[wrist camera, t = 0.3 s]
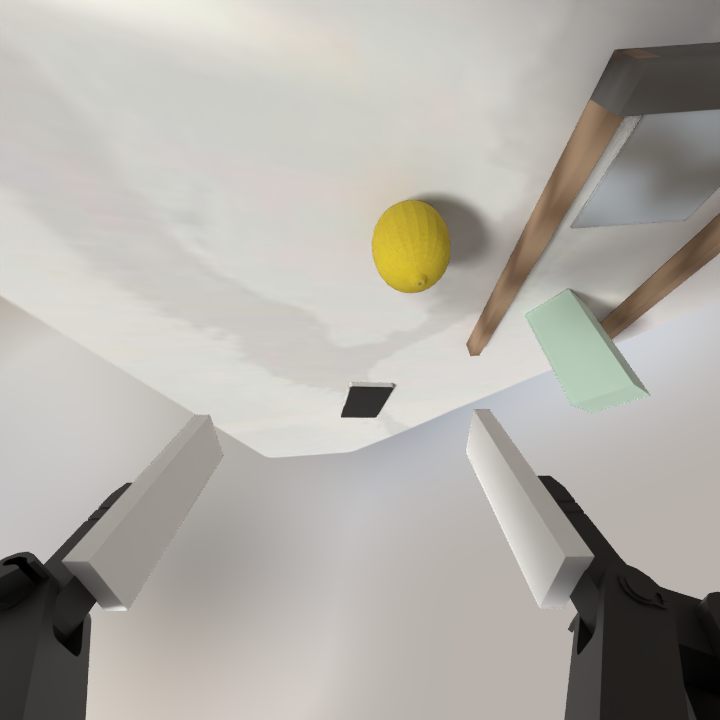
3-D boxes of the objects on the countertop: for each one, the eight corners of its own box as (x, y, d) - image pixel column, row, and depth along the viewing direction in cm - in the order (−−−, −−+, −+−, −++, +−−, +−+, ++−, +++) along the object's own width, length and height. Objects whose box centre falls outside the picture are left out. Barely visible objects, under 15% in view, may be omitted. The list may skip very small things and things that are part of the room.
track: (614, 50, 15) (649, 63, 13) (945, 26, 15) (1021, 36, 13) (466, 344, 38) (472, 362, 36) (595, 334, 38) (607, 352, 36)
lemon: (445, 225, 23) (472, 292, 18) (387, 257, 25) (398, 323, 21) (421, 162, 19) (449, 228, 14) (355, 207, 21) (361, 275, 17)
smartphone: (339, 417, 57) (348, 386, 45) (339, 412, 58) (348, 379, 46) (376, 417, 59) (395, 387, 46) (376, 412, 59) (394, 381, 47)
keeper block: (524, 314, 33) (571, 404, 27) (568, 288, 30) (633, 384, 23) (544, 327, 36) (591, 413, 29) (586, 304, 32) (650, 395, 26)
